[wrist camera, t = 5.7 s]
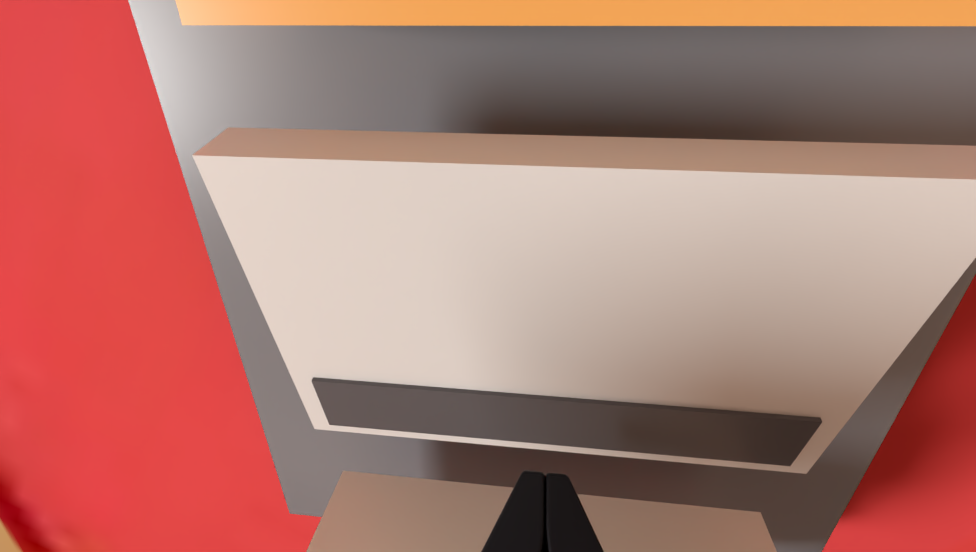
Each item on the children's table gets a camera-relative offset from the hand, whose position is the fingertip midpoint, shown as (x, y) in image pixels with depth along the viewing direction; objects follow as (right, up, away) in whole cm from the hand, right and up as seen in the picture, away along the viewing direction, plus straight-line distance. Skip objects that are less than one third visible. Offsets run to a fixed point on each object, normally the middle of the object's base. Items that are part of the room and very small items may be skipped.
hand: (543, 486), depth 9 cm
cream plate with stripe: (0, +3, 0) cm, 3 cm away
